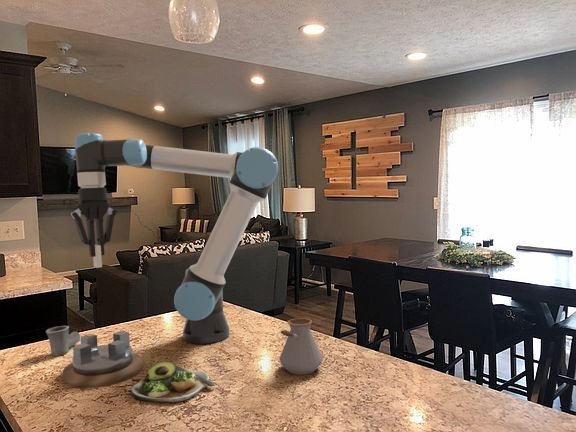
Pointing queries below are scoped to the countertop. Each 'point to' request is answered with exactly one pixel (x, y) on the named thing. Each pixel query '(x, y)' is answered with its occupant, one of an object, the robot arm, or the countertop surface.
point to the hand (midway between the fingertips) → (98, 267)
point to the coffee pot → (300, 348)
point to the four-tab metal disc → (102, 355)
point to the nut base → (102, 375)
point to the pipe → (61, 339)
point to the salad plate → (170, 383)
